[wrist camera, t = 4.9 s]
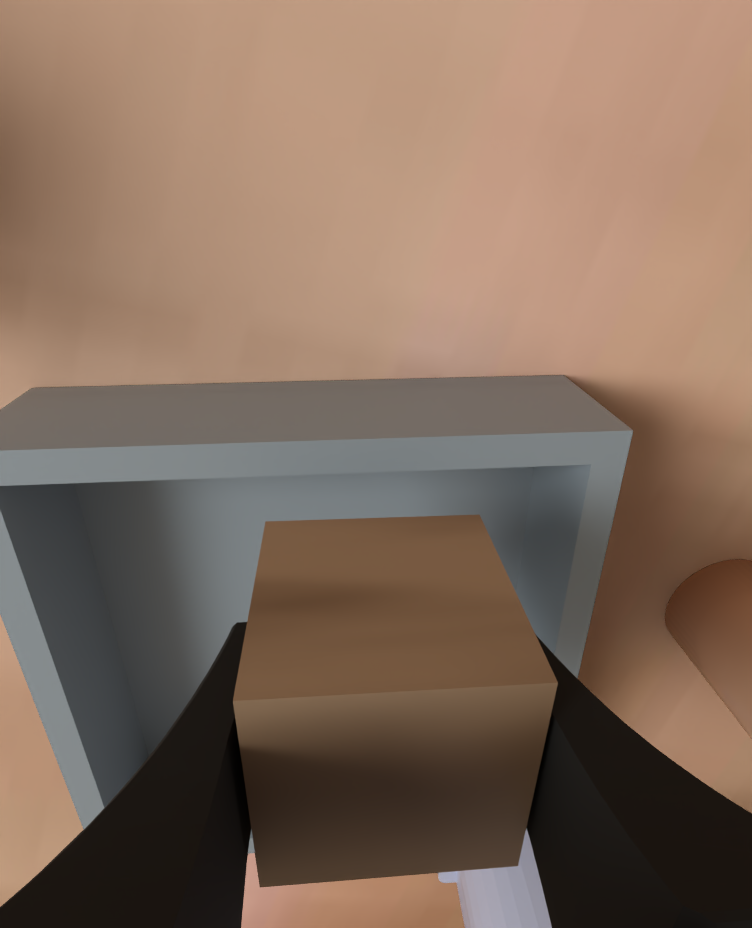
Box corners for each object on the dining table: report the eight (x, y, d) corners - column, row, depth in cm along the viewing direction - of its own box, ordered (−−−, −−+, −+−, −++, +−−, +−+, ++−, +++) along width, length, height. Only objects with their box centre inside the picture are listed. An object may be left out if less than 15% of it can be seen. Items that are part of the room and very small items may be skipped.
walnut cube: (462, 669, 15) (518, 865, 11) (279, 678, 15) (259, 887, 11) (479, 514, 13) (557, 682, 9) (265, 521, 13) (232, 700, 8)
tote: (508, 725, 28) (543, 828, 23) (136, 751, 26) (97, 866, 22) (563, 374, 20) (632, 430, 15) (32, 387, 18) (-63, 452, 14)
